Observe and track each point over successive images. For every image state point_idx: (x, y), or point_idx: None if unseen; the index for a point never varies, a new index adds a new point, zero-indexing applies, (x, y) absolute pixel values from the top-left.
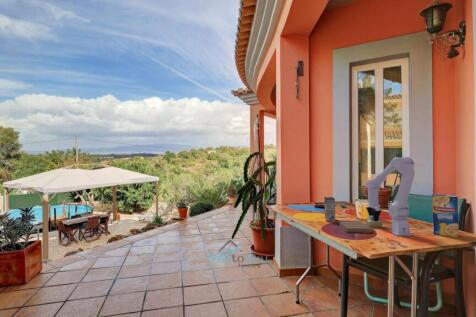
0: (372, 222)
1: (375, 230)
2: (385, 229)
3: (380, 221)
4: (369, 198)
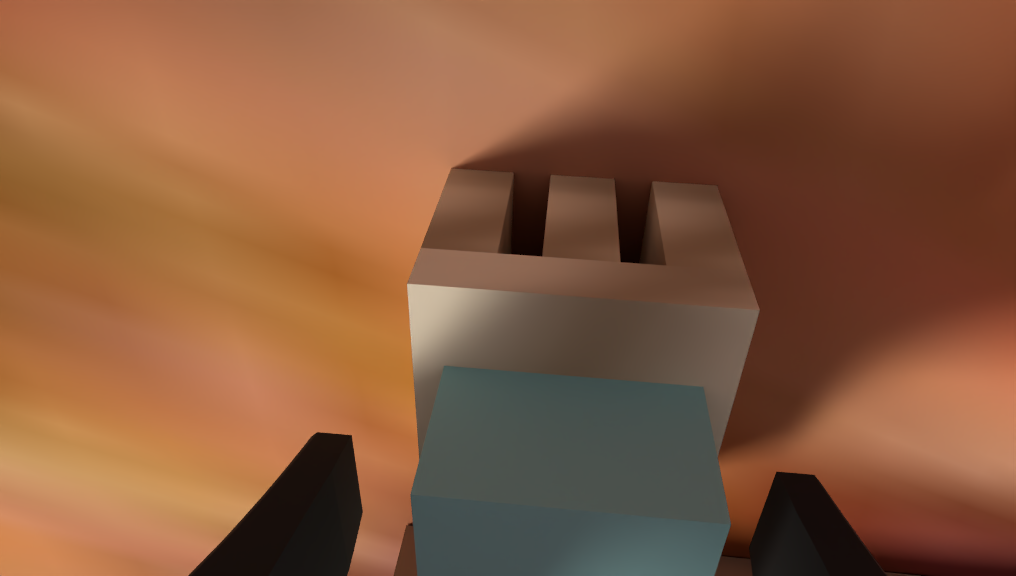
0: None
1: (1003, 475)
2: (1006, 215)
3: (742, 351)
4: None
